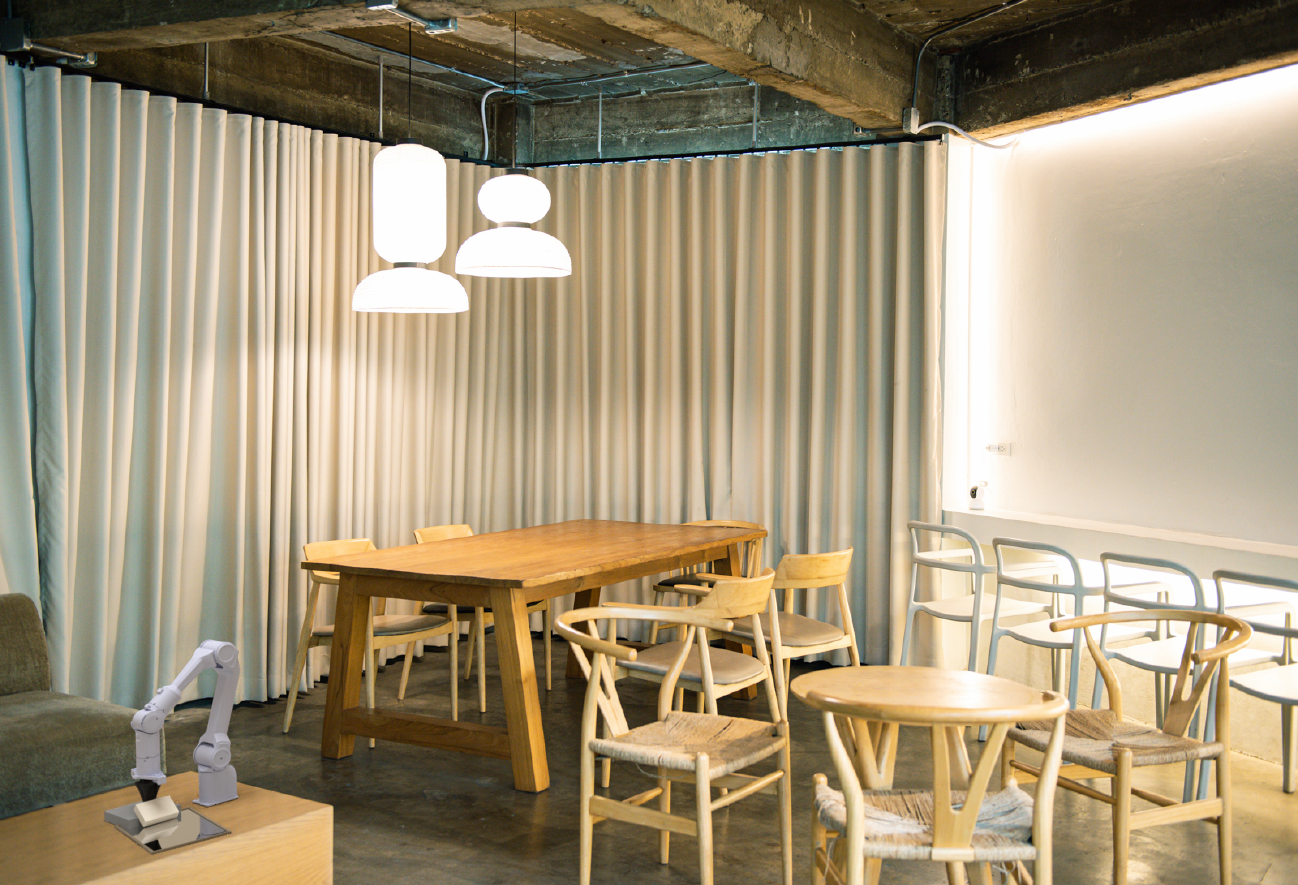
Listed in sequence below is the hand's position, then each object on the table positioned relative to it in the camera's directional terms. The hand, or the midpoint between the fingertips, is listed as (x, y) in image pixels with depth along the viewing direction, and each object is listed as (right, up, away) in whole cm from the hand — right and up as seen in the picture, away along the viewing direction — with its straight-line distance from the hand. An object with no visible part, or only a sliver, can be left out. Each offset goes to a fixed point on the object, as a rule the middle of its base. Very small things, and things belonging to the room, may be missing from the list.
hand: (149, 807), depth 280 cm
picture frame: (+10, -4, -9) cm, 14 cm away
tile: (+3, -1, -2) cm, 3 cm away
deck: (-3, -3, +2) cm, 5 cm away
